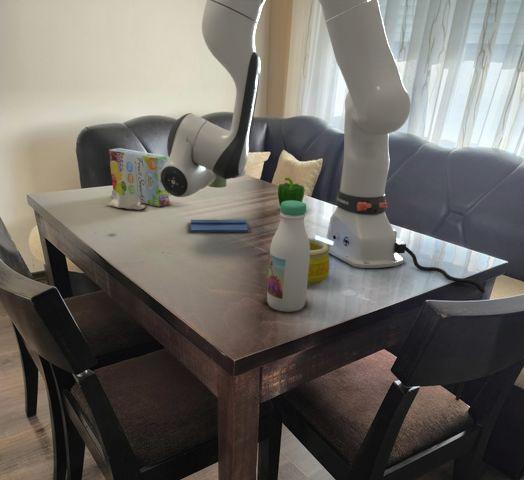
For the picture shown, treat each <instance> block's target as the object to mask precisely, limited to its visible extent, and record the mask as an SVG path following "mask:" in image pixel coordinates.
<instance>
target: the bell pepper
mask: <svg viewBox="0 0 524 480" xmlns="http://www.w3.org/2000/svg"><path fill="white" fill-rule="evenodd" d="M284 180H285V181H288V182H284V183H280V184H279V185H278V187H277V197H278V203H279V207H280V206H281V203H282V202H284V201H290V200H292V201H300V202H303V201H304V197H305V191H306V189H305V186H304V185H301V184H299V183H294V181H293V179H292V178H291V177H289V176H287V177H286V176H285V177H284Z"/></svg>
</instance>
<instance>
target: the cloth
mask: <svg viewBox="0 0 524 480" xmlns="http://www.w3.org/2000/svg"><path fill="white" fill-rule="evenodd" d="M190 232H191V233H249V228H248V224H247V220H246V219H190Z"/></svg>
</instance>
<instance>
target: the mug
mask: <svg viewBox="0 0 524 480" xmlns="http://www.w3.org/2000/svg"><path fill="white" fill-rule="evenodd" d="M308 239H309V243H310V260H309V271H308V282H307V286H313V285H318V284H320V283H323V282H324V281H326V280H327V278H328V277H329V273H330V253H329V252H328V251H329V246H328V245H327V244H326V243H325V242H323V241H320V240H317V239H315V238H312V237H308Z"/></svg>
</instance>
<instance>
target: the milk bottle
mask: <svg viewBox="0 0 524 480" xmlns="http://www.w3.org/2000/svg"><path fill="white" fill-rule="evenodd" d="M279 209H280V213H279V215H280V221H279V224H278V227H277V229H276V231H275V233H274V235H273V237H272V239H271V242H270V247H269V257H268V273H267V288H266V289H267V292H266V293H267V294H266V302H267V305H268V306H269V307H270V308H272V309H273V310H275V311H278V312H279V311H280V312H286V313H287V312H289V313H291V312H297V311H299V310H302V309H303V308H304V307H305V305H306V300H307V290H308V285H307V282H308V271H309V260H310V243H309V239H308V238H309V236H308V233H307V231H306V226H305V218H306V213H307V204H306V203H305V202H303V201H302V202H300V201H292V200H290V201H284V202H282V203H281V206H280V205H279Z"/></svg>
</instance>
